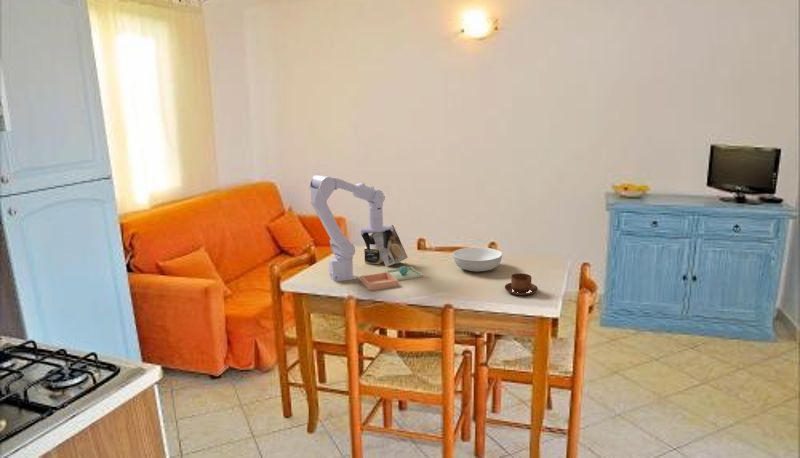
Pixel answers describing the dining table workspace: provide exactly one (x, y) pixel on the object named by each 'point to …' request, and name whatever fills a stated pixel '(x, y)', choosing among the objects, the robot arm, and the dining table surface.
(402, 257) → the coffee box
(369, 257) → the medicine bottle
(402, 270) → the ball
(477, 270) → the serving bowl
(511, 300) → the dining table surface
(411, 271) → the tray
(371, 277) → the dish
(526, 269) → the dining table surface
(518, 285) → the cup and saucer
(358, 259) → the dining table surface
